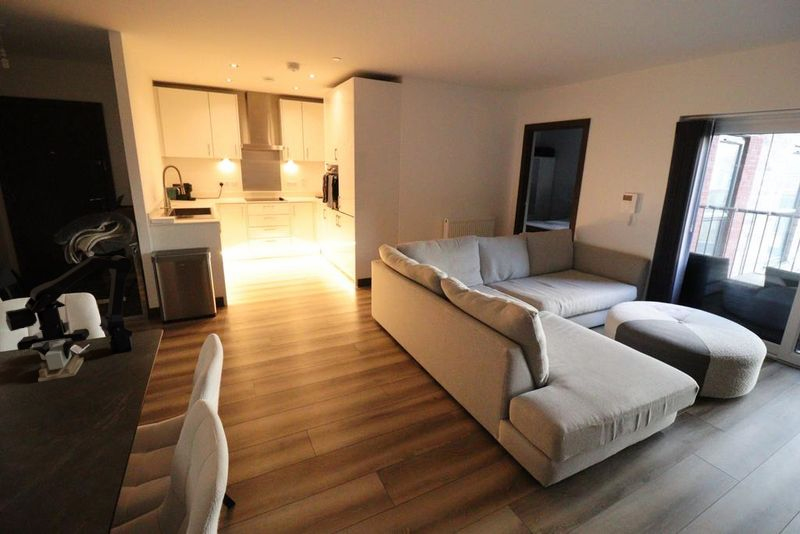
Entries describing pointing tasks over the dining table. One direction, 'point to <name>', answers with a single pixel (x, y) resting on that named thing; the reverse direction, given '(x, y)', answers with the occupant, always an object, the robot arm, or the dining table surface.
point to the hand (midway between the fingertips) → (60, 359)
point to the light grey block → (57, 357)
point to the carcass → (60, 369)
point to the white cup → (49, 343)
